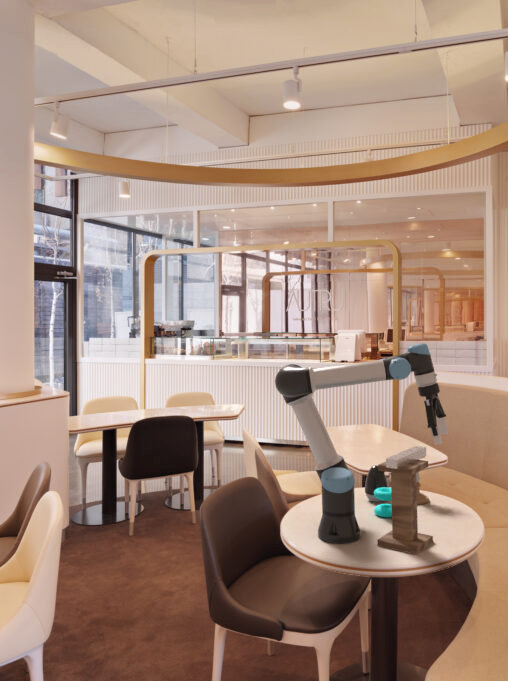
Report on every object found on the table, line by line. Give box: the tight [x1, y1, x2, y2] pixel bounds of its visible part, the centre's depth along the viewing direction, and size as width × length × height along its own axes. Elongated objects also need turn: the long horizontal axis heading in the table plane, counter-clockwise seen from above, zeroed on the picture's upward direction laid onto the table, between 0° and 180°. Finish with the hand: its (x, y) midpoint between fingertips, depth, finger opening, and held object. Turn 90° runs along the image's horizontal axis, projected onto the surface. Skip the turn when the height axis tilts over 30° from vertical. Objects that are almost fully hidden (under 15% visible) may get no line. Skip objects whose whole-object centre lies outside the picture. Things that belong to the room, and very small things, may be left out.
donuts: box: [373, 487, 392, 519], centre depth 229 cm, size 10×10×10 cm
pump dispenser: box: [364, 464, 388, 503], centre depth 249 cm, size 10×10×15 cm
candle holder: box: [416, 456, 430, 505], centre depth 247 cm, size 12×12×20 cm
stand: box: [376, 459, 434, 555], centre depth 198 cm, size 14×14×28 cm
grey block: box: [385, 445, 427, 469], centre depth 200 cm, size 24×4×3 cm, turn 141°
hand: (441, 439), depth 215 cm, fingers open, 13 cm apart
